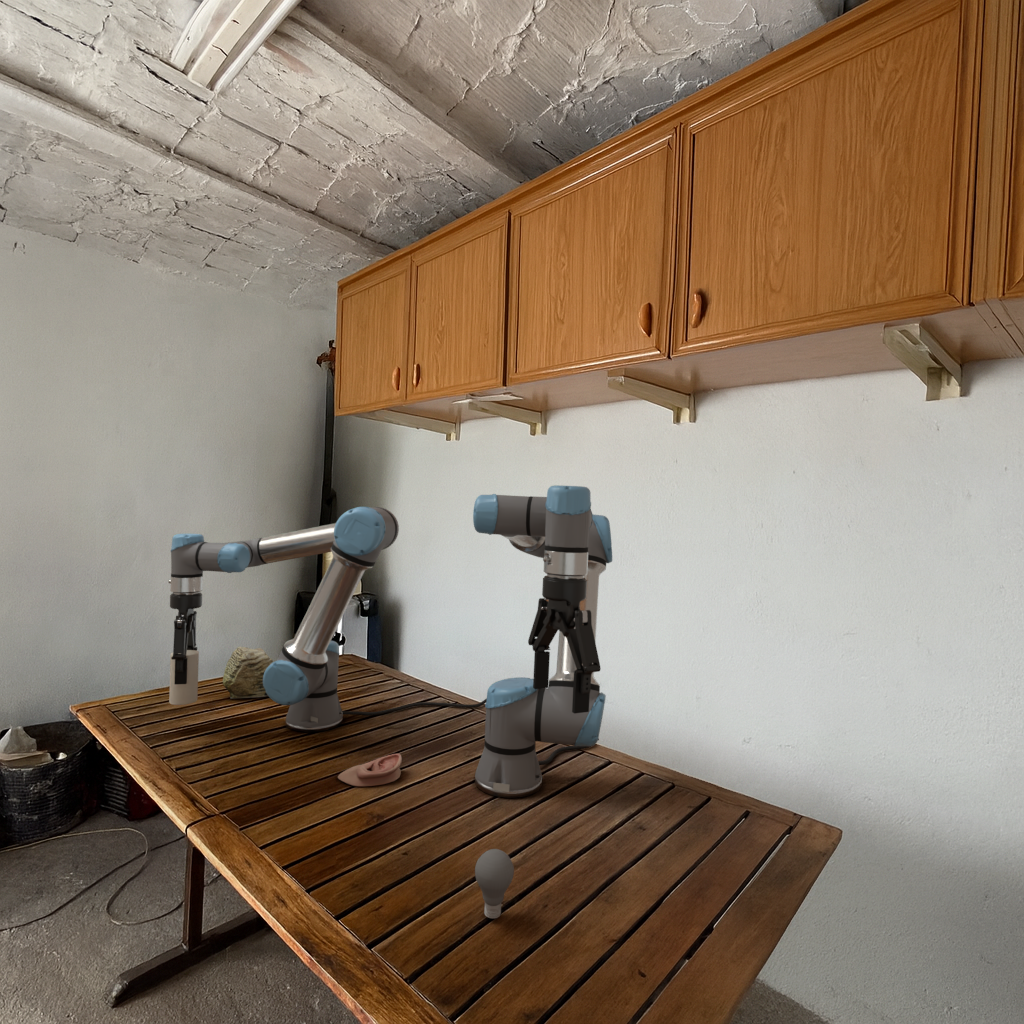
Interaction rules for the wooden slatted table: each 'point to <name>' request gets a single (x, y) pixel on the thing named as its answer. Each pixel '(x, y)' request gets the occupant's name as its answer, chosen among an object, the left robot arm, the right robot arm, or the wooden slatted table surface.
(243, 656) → the fossil
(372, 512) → the left robot arm
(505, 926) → the wooden slatted table surface
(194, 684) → the cylinder
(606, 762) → the wooden slatted table surface
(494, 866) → the light bulb
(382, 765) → the anatomical model
